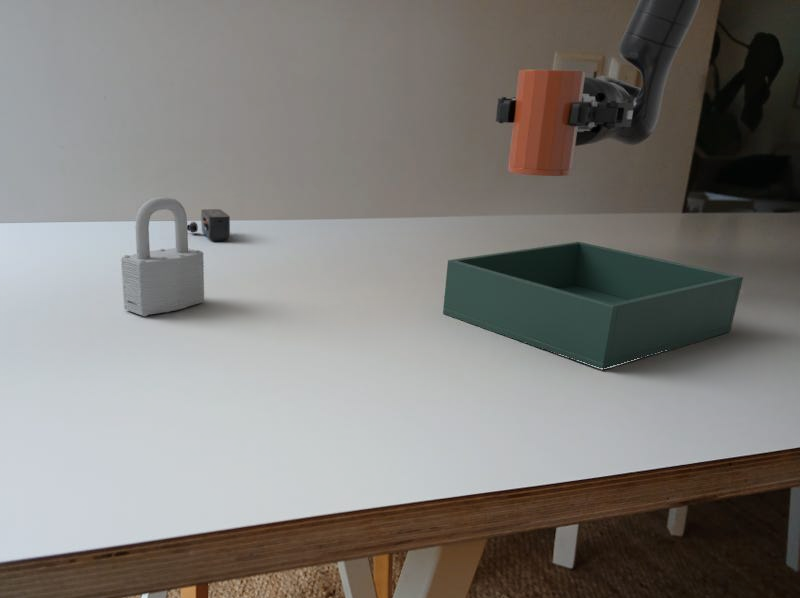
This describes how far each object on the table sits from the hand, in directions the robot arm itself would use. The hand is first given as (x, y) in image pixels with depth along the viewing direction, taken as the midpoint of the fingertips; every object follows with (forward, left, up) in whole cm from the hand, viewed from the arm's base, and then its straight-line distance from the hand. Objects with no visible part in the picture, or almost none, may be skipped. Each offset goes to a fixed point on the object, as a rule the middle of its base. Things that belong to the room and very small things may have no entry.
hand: (539, 112), depth 74 cm
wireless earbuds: (+17, -39, -18) cm, 46 cm away
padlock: (+36, -11, -18) cm, 42 cm away
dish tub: (+5, +12, -18) cm, 22 cm away
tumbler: (-2, -1, -6) cm, 6 cm away
